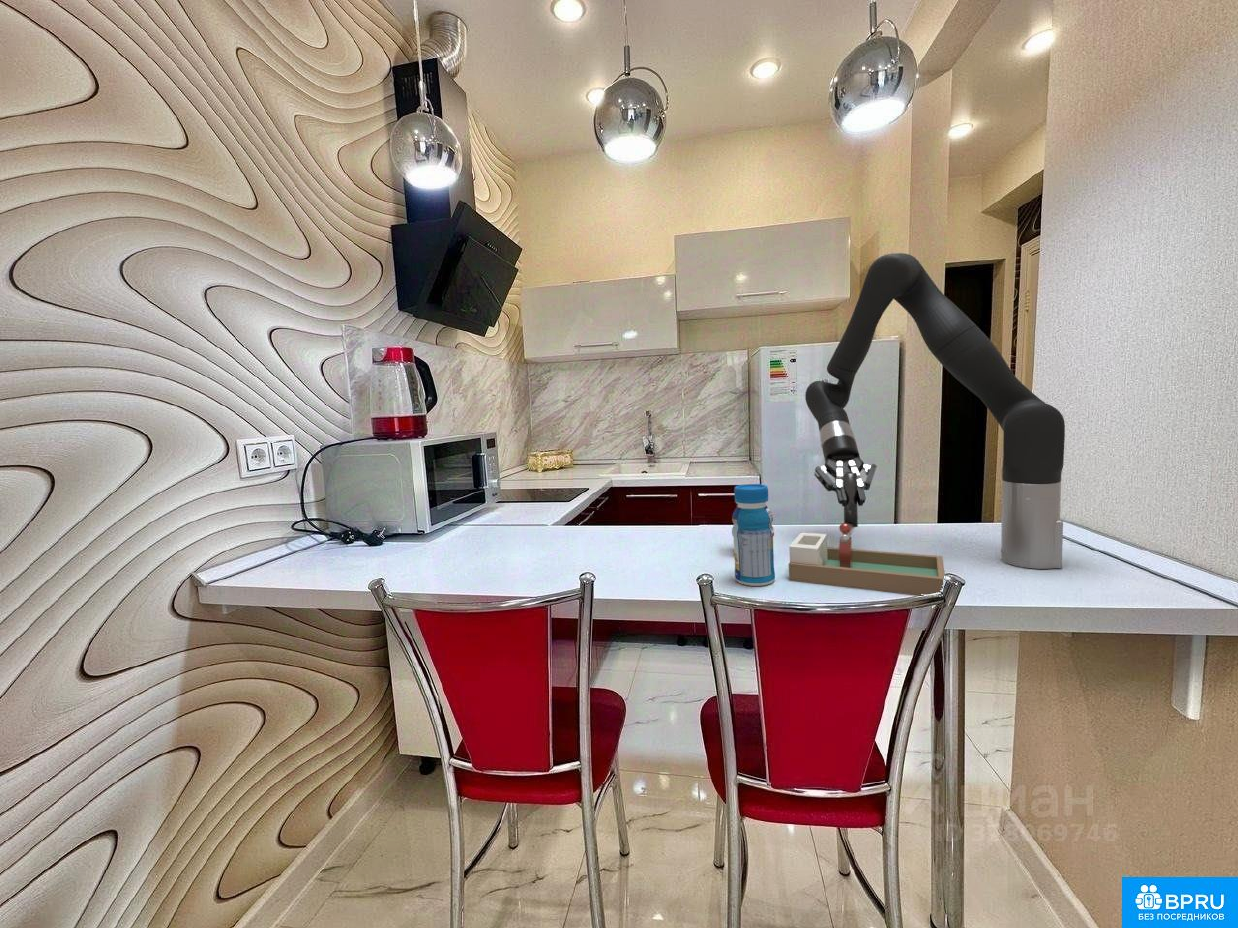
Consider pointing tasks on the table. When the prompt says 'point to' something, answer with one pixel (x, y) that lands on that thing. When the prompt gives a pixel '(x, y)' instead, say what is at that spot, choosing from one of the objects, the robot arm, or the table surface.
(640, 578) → the table surface
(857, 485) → the robot arm
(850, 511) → the rod
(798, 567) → the pitch
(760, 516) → the beverage bottle
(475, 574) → the table surface
